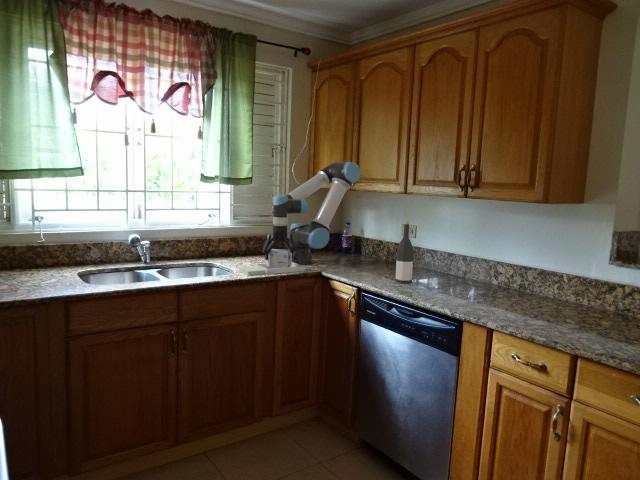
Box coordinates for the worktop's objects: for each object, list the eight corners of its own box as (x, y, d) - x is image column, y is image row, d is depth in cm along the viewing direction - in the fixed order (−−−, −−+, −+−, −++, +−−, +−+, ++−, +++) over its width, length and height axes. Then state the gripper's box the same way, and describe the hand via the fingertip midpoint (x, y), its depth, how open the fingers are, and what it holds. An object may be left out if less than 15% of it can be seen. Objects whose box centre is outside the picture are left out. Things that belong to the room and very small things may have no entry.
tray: (290, 265, 274) (290, 261, 274) (304, 271, 261) (304, 266, 261) (253, 268, 263) (254, 264, 263) (266, 274, 249) (266, 269, 249)
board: (254, 269, 260) (254, 266, 259) (264, 274, 249) (264, 270, 249) (238, 271, 255) (238, 267, 255) (248, 275, 245) (248, 271, 244)
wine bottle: (393, 282, 239) (396, 221, 235) (397, 279, 247) (400, 220, 243) (410, 284, 236) (413, 222, 233) (413, 281, 244) (416, 221, 240)
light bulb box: (289, 269, 265) (290, 249, 263) (287, 271, 258) (288, 251, 257) (270, 268, 266) (270, 248, 264) (267, 270, 259) (268, 250, 258)
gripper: (296, 223, 268) (295, 262, 271) (255, 224, 256) (255, 265, 258) (303, 225, 262) (302, 265, 265) (261, 226, 249) (261, 268, 252)
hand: (279, 265), depth 262 cm, fingers closed on light bulb box, 12 cm apart
